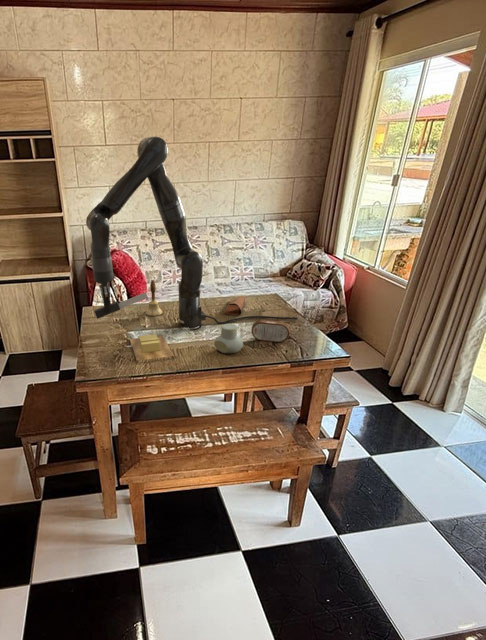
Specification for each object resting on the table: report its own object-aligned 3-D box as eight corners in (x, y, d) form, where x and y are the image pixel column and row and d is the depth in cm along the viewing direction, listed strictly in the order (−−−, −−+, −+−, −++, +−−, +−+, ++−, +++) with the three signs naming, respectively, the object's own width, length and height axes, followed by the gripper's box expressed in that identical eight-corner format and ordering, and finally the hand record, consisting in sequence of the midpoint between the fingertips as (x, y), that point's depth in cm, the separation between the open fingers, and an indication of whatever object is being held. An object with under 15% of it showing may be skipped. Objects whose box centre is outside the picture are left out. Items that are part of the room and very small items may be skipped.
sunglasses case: (228, 301, 206) (235, 290, 203) (239, 308, 206) (247, 297, 203) (223, 313, 191) (231, 302, 187) (235, 321, 191) (243, 310, 188)
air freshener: (210, 348, 160) (211, 325, 155) (225, 343, 164) (226, 319, 159) (230, 358, 152) (232, 333, 147) (246, 352, 156) (247, 327, 151)
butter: (156, 342, 164) (155, 334, 162) (158, 347, 160) (158, 339, 158) (139, 344, 163) (138, 336, 161) (141, 349, 159) (140, 341, 157)
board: (162, 337, 170) (162, 335, 170) (173, 358, 153) (173, 355, 153) (129, 341, 168) (129, 339, 168) (137, 363, 151) (136, 360, 150)
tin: (289, 341, 163) (291, 321, 159) (288, 344, 161) (291, 324, 157) (251, 337, 168) (252, 318, 164) (250, 340, 165) (251, 320, 161)
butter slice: (159, 348, 159) (158, 340, 157) (160, 350, 157) (159, 342, 155) (141, 350, 158) (141, 342, 156) (142, 352, 156) (141, 344, 154)
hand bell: (144, 311, 199) (142, 278, 191) (160, 309, 201) (159, 277, 193) (147, 316, 192) (145, 283, 184) (164, 314, 194) (163, 281, 186)
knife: (97, 318, 163) (94, 311, 161) (97, 317, 165) (93, 310, 163) (148, 298, 163) (145, 291, 162) (147, 296, 165) (144, 289, 163)
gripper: (114, 272, 150) (118, 316, 158) (110, 263, 161) (115, 304, 170) (93, 274, 148) (99, 318, 157) (91, 265, 160) (97, 306, 169)
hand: (107, 311), depth 163 cm, fingers closed on knife, 2 cm apart
